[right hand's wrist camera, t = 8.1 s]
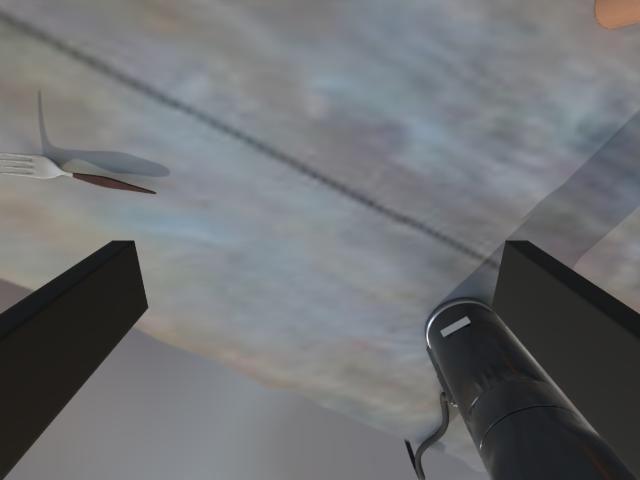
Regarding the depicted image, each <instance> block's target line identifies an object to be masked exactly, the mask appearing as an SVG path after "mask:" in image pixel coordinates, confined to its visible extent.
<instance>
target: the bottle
mask: <svg viewBox="0 0 640 480" xmlns="http://www.w3.org/2000/svg"><path fill="white" fill-rule="evenodd" d="M595 15H596V18H597V21H598V22H599V23H600V25H602V26H603V27H605V28H607V29H619V28H623V27H627V26H631V25H635V24H638V23H640V0H596V4H595Z"/></svg>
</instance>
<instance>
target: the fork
mask: <svg viewBox="0 0 640 480" xmlns="http://www.w3.org/2000/svg"><path fill="white" fill-rule="evenodd" d="M0 154H7V155H14V156H21V157H27V158H31V159H32V160H8V159H0V160H3V161H10V162H18V163H26V164H30V165H32V166H31V167H21V166H0V167H7V168H15V169H24V170H30V171H32V173H13V172H0V173H4V174H13V175H22V176H30V177H36V178H43V179H48V178H53V177H56V176H59V175H67V176H71V177H74V178H77V179H80V180H83V181H86V182H89V183H92V184H95V185H98V186H102V187H107V188H113V189H121V190H129V191H136V192H143V193H150V194H156V192H153V191H150V190H147V189H144V188H140V187H137V186H134V185H130V184H127V183H124V182H121V181H118V180H115V179H112V178H108V177H103V176H97V175H89V174H80V173H72V172H66V171H64V170H62V169H61V168H60V167H58V166H57V165H56V164H55V163H54V162H53V161H52V160H51V159H49V158H47V157H45V156H42V155H33V154H18V153H0Z"/></svg>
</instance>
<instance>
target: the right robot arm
mask: <svg viewBox="0 0 640 480" xmlns="http://www.w3.org/2000/svg"><path fill="white" fill-rule="evenodd" d="M147 309H148V304H147V299H146V294H145V290H144V285H143V280H142V275H141V271H140V266H139V261H138V256H137V252H136V247H135V242H134V241H111V242H110V243H108V244H107V245H105V246H104V247H102V248H100V249H99V250H97V251H96V252H94V253H93V254H91V255H90V256H88V257H87V258H85V259H84V260H82V261H81V262H79V263H78V264H76V265H75V266H73V267H71V268H70V269H68V270H67V271H65V272H64V273H62V274H61V275H59V276H58V277H56V278H55V279H53V280H52V281H50V282H49V283H47V284H46V285H44V286H42V287H41V288H39V289H38V290H36V291H35V292H33V293H32V294H30V295H29V296H27V297H26V298H24V299H23V300H21V301H20V302H18V303H17V304H15V305H14V306H12V307H10V308H9V309H7V310H6V311H4V312H3V313H1V314H0V480H3V479H4V478H5V477H6V475H7V474H8V473H9V472H10V471H11V469H12V468H13V467H14V466H15V465H16V464H17V462H18V461H19V460H20V459H21V458H22V456H23V455H24V454H25V453H26V452H27V451H28V449H29V448H30V447H31V446H32V445H33V444H34V442H35V441H36V440H37V439H38V438H39V436H40V435H41V434H42V433H43V432H44V431H45V429H46V428H47V427H48V426H49V425H50V423H51V422H52V421H53V420H54V419H55V417H56V416H57V415H58V414H59V413H60V412H61V410H62V409H63V408H64V407H65V406H66V404H67V403H68V402H69V401H70V400H71V399H72V397H73V396H74V395H75V394H76V393H77V391H78V390H79V389H80V388H81V387H82V386H83V384H84V383H85V382H86V381H87V380H88V378H89V377H90V376H91V375H92V374H93V373H94V371H95V370H96V369H97V368H98V367H99V365H100V364H101V363H102V362H103V361H104V360H105V358H106V357H107V356H108V355H109V354H110V352H111V351H112V350H113V349H114V348H115V347H116V345H117V344H118V343H119V342H120V341H121V339H122V338H123V337H124V336H125V335H126V334H127V332H128V331H129V330H130V329H131V328H132V326H133V325H134V324H135V323H136V322H137V321H138V319H139V318H140V317H141V316H142V315H143V313H144V312H145V311H146V310H147ZM492 309H493V310H494V311H495V312H496V313H497V315H498V316H499V317H500V318H501V319H502V321H503V322H504V323H505V324H506V325H507V326H508V328H509V329H510V330H511V331H512V332H513V334H514V335H515V336H516V337H517V338H518V339H519V341H520V342H521V343H522V344H523V345H524V347H525V348H526V349H527V350H528V351H529V352H530V354H531V355H532V356H533V357H534V358H535V360H536V361H537V362H538V363H539V364H540V365H541V367H542V368H543V369H544V370H545V371H546V373H547V374H548V375H549V376H550V377H551V378H552V380H553V381H554V382H555V383H556V384H557V386H558V387H559V388H560V389H561V390H562V391H563V393H564V394H565V395H566V396H567V397H568V399H569V400H570V401H571V402H572V403H573V404H574V406H575V407H576V408H577V409H578V410H579V412H580V413H581V414H582V415H583V416H584V417H585V419H586V420H587V421H588V422H589V423H590V425H591V426H592V427H593V428H594V429H595V431H596V432H597V433H598V434H599V435H600V436H601V438H602V439H603V440H604V441H605V442H606V444H607V445H608V446H609V447H610V448H611V449H612V451H613V452H614V453H615V454H616V455H617V457H618V458H619V459H620V460H621V461H622V462H623V464H624V465H625V466H626V467H627V468H628V470H629V471H630V472H631V473H632V474H633V475H634V477H635V478H636V479H637V480H640V314H639V313H637V312H636V311H634V310H633V309H631V308H630V307H628V306H627V305H625V304H623V303H622V302H620V301H619V300H617V299H616V298H614V297H613V296H611V295H610V294H608V293H607V292H605V291H604V290H602V289H601V288H599V287H598V286H596V285H594V284H593V283H591V282H590V281H588V280H587V279H585V278H584V277H582V276H581V275H579V274H578V273H576V272H575V271H573V270H572V269H570V268H569V267H567V266H565V265H564V264H562V263H561V262H559V261H558V260H556V259H555V258H553V257H552V256H550V255H549V254H547V253H546V252H544V251H543V250H541V249H540V248H538V247H536V246H535V245H533V244H532V243H530V242H529V241H506V242H505V247H504V252H503V256H502V261H501V266H500V271H499V275H498V280H497V285H496V290H495V294H494V299H493V304H492Z"/></svg>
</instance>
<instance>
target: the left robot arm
mask: <svg viewBox="0 0 640 480" xmlns="http://www.w3.org/2000/svg"><path fill="white" fill-rule="evenodd" d="M425 337H426V340H427V343H428V347H427V349H426V350H427V352H428V354H429V357H430V359H431V361H432V364H433V366H434V368H435V371H436V373H437V377H438V379H439V382H440V384H441V386H442V389H443V391H445V392H442V393H441V396H440V402H441V407H442V413H443V422H442V425H441V427H440V428H439V430H438V431H437V432H436V433H435V434H434V435H432V436H431V437H430V438H428V439H427V440H426V441H425V442H423V443H422V444H421V445H420V447H419V448H418V450H417V452H416V455H415V456H414V453H413V450H412V447H411V444H410V441H407V440H405V439H404V441H405V444H406V447H407V450H408V453H409V457H410V459H411V462H412V465H413V468H414V470H415V472H416V475H417V477H418V478H419V480H425V475H424V472H423V469H422V465H421V456H422V454H423V452H424V451H425V450H426V449H427V448H428V447H429V446H431V445H432V444H433V443H435V442H436V441H437V440H439V439H440V438H441V437H442V436H443V435H444V433H445V432H446V430H447V428H448V424H449V411H448V405H447V401H449V402H450V404H451V405H453V406H456V407H458V409H459V411H460V413H461V415H462V418H463V420H464V422H465V424H466V426H467V429H468V431H469V433H470V435H471V437H472V439H473V441H474V444H475V446H476V448H477V450H478V452H479V455H480V457H481V459H482V462H483V464H484V466H485V468H486V471H487V473H488V475H489V478H490V480H637V479H636V478H635V477H634V475H633V474H632V473H631V472H630V471H629V470H628V468H627V467H626V466H625V465H624V464H623V462H622V461H621V460H620V459H619V458H618V457H617V455H616V454H615V453H614V452H613V451H612V449H611V448H610V447H609V446H608V445H607V444H606V442H605V441H604V440H603V439H602V438H601V436H599V435H598V434H596V433H594V432H593V431H591V430H590V429H589V428H588V426H587V425H586V424H585V423H584V422H583V420H582V419H581V418H580V417H579V416H578V414H577V413H576V412H575V411H574V410H573V408H572V407H571V406H570V405H569V404H568V402H567V401H566V400H565V399H564V398H563V396H562V395H561V394H560V393H559V392H558V390H557V389H556V388H555V387H554V386H553V385H552V383H551V382H550V381H549V380H548V379H547V377H546V376H545V375H544V374H543V372H542V371H541V370H540V369H539V368H538V366H537V365H536V364H535V363H534V362H533V360H532V359H531V358H530V357H529V356H528V354H527V353H526V352H525V351H524V350H523V348H522V347H521V346H520V345H519V344H518V342H517V341H516V340H515V339H514V338H513V336H512V335H511V334H510V333H509V332H508V330H507V329H506V328H505V327H504V325H503V324H502V323H501V322H500V321H499V319H498V318H497V317H496V315H495V313H494V312H493V311H492V310H491V309H490V307H489V306H487V305H486V304H485V303H483V302H481V301H479V300H476V299H472V298H458V299H454V300H451V301H448V302H446V303H444V304H442V305H441V306H439V307H438V308H437V309H435V310H434V311H433V313H432V314H431V315H430V317H429V318H428V320H427V322H426V326H425Z"/></svg>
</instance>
